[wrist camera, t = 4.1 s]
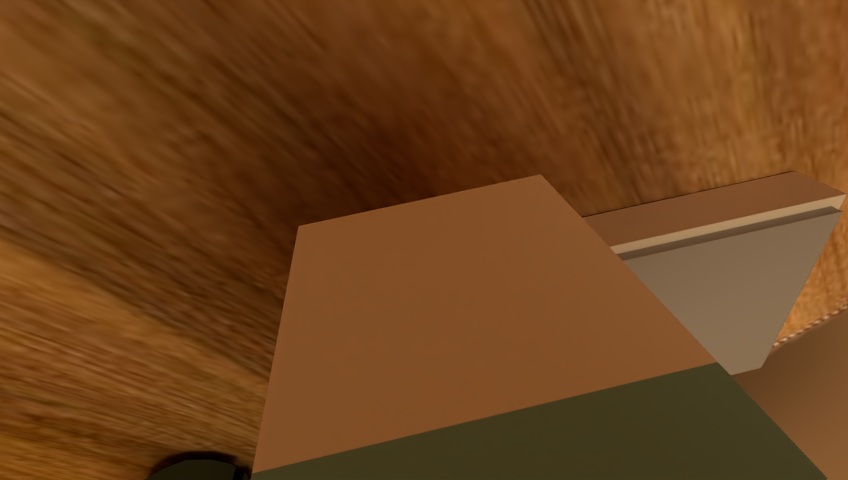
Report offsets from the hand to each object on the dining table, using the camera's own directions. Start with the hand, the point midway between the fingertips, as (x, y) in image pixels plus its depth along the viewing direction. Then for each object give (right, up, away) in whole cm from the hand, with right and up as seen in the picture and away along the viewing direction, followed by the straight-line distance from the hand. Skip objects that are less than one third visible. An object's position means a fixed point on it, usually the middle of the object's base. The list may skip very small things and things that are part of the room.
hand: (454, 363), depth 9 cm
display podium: (+13, 0, +14) cm, 19 cm away
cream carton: (0, +1, +1) cm, 1 cm away
